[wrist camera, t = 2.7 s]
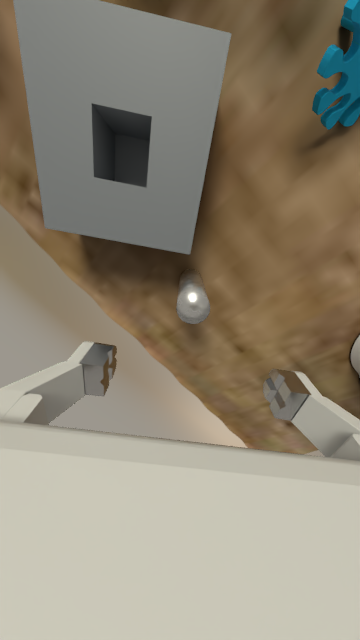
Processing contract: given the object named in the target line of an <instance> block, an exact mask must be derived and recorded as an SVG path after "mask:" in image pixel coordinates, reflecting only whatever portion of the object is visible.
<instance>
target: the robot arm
mask: <svg viewBox="0 0 360 640" xmlns="http://www.w3.org/2000/svg"><path fill="white" fill-rule="evenodd" d="M116 350H117V348H116V346H114V345H108V344H101V343H95V342H89V341H84V342H83V343H82V344H81V345H80V346H79V347H78V348H77V350H76V351H75V352H74V353H73V354H72V356H71V357H70V358H69V359H68V360H67V361H66V362H60V363H58V364H56V365H54V366H51V367H49V368H47V369H44V370H42V371H40V372H37V373H35V374H33V375H30V376H28V377H26V378H23V379H21V380H19V381H17V382H14V383H12V384H10V385H7V386H5V387H3V388H0V640H360V420H359V419H358V418H356V417H355V416H353V415H352V414H350V413H349V412H347V411H346V410H344V409H343V408H341V407H340V406H338V405H337V404H335V403H334V402H332V401H331V400H329V399H328V398H326V397H323V396H322V395H321V394H320V393H319V391H318V390H317V389H316V388H315V387H314V385H313V384H312V383H311V382H310V380H309V379H308V378H307V377H306V375H305V374H304V373H302V372H297V371H286V370H279V369H272V370H271V371H270V373H269V376H270V378H269V379H267V380H266V381H265V383H264V385H263V393H264V396H265V398H266V399H267V400H268V401H269V402H270V406H269V407H270V409H271V411H272V413H273V415H274V417H275V418H278V419H284V420H291V422H292V423H293V424H294V425H295V426H296V427H297V428H298V429H299V430H300V431H301V432H302V433H303V434H304V435H305V436H306V437H307V438H308V439H309V440H310V441H311V442H312V443H313V444H314V445H315V446H316V447H317V448H318V450H319V451H320V452H322V454H323V455H324V456H325V457H321V456H312V455H303V454H294V453H286V452H277V451H268V450H259V449H251V448H241V447H233V446H224V445H215V444H207V443H198V442H188V441H180V440H171V439H163V438H154V437H146V436H137V435H128V434H119V433H110V432H102V431H93V430H84V429H75V428H66V427H58V426H49V424H48V423H50V422H51V421H52V420H54V419H55V418H56V417H58V416H59V415H60V414H61V413H63V412H64V411H65V410H67V409H68V408H69V407H71V406H72V405H73V404H75V403H76V402H77V401H78V400H80V399H81V398H82V397H84V396H85V395H95V396H104V395H105V393H106V391H107V388H108V386H109V380H110V379H112V378H113V375H114V372H115V369H116V358H115V355H116V353H117V351H116ZM351 363H352V366H353V368H354V369H355V370H356V371H357V373H358V374H359V376H360V335H359V337H358V338H357V340H356V341H355V343H354V345H353V348H352V351H351Z"/></svg>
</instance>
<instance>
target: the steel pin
mask: <svg viewBox="0 0 360 640" xmlns="http://www.w3.org/2000/svg"><path fill="white" fill-rule="evenodd" d="M209 312H210V304H209V301H208V297H207V294H206V291H205V287H204V284H203V281H202V277H201V275H200V273H199V272H198V271H197V270H195V269H187V270H185V271H184V272H183V273H182V274H181V276H180V282H179V291H178V300H177V314H178V316H179V317H180V319H181V320H183V321H184V322H186V323H190V324H197V323H200V322H202V321H203V320H205V319H206V318H207V316H208V315H209Z"/></svg>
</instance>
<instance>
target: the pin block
mask: <svg viewBox="0 0 360 640" xmlns="http://www.w3.org/2000/svg"><path fill="white" fill-rule="evenodd" d="M13 1H14V8H15V15H16V23H17V30H18V37H19V44H20V51H21V59H22V66H23V73H24V80H25V87H26V94H27V102H28V109H29V116H30V123H31V130H32V137H33V145H34V152H35V159H36V166H37V173H38V181H39V188H40V195H41V202H42V209H43V216H44V224H45V228H48V229H53V230H59V231H64V232H70V233H75V234H80V235H86V236H91V237H97V238H102V239H108V240H113V241H118V242H124V243H129V244H135V245H140V246H146V247H151V248H156V249H162V250H167V251H173V252H178V253H184V254H189V255H190V252H191V247H192V241H193V236H194V231H195V225H196V220H197V215H198V209H199V204H200V199H201V193H202V188H203V183H204V177H205V172H206V166H207V161H208V156H209V150H210V145H211V140H212V134H213V129H214V124H215V118H216V113H217V108H218V102H219V97H220V91H221V86H222V81H223V75H224V70H225V65H226V59H227V54H228V49H229V43H230V38H231V33H228V32H224V31H220V30H216V29H212V28H208V27H204V26H200V25H196V24H191V23H187V22H183V21H179V20H175V19H171V18H167V17H163V16H159V15H155V14H151V13H147V12H143V11H139V10H135V9H131V8H127V7H123V6H119V5H115V4H111V3H107V2H103V1H99V0H13Z"/></svg>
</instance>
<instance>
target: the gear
mask: <svg viewBox="0 0 360 640" xmlns="http://www.w3.org/2000/svg"><path fill="white" fill-rule="evenodd" d="M341 26H342V27H344V28H346V29H348V30H350V31H351V32H353V41H352V44H351V46H350V48H349V50H348V51H347V53H346V54H345V55H344V56H343V50H342V49H340V48H339V47H337V46H335V45H331V46H329V47H328V49H327V51H326V52H325V54H324V56H323V58H322V60H321V62H320V65H319V67H318V70H317V73H318V74H320V75H321V76H322V77H324V78H329V77H330V76H332V75H333V74H335V73H338V72H342V76H341V78H340V80H339V82H338V84H337V85H336V86H335V87H334V88H333V89H331V90H328V89H327V88H322V89H320V90H319V91H318V92H317V93H316V95H315V97H314V101H313V107H312V110H313V111H314V112H315V113H316V114H317V115H319V114H321V113H323V112H324V111H325V110H326V109H327V108H328V107H329V106H330V105H331V104H332V103H333V102H334V101H335V100H336V99H338V98H339V97H341V96H343V95H344V96H343V98H342V99H341V101H340V102H339V103H338V104H337V105H335V106H333V107H330V108H329V109H327V110H326V111H325V112H324V113H323V115H322V116H321V123H322V124H323V125H324V126H325V127H326V128H327V129H328V130H329V129H331V128H332V127H333V126H334V125H335V124H336V122H337V121H339V122H340V123H341V124H342V125H344V126H346V127H347V126H352V125H353V124H354V123H355V121H356V120H357V119H358V117H359V114H360V0H348V1H347V3H346V5H345V6H344V13H343V16H342V19H341ZM354 101H355V102H354ZM353 102H354V103H353ZM352 103H353V104H352ZM351 104H352V105H351ZM350 105H351V106H350ZM349 106H350V107H349ZM338 119H339V120H338Z"/></svg>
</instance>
